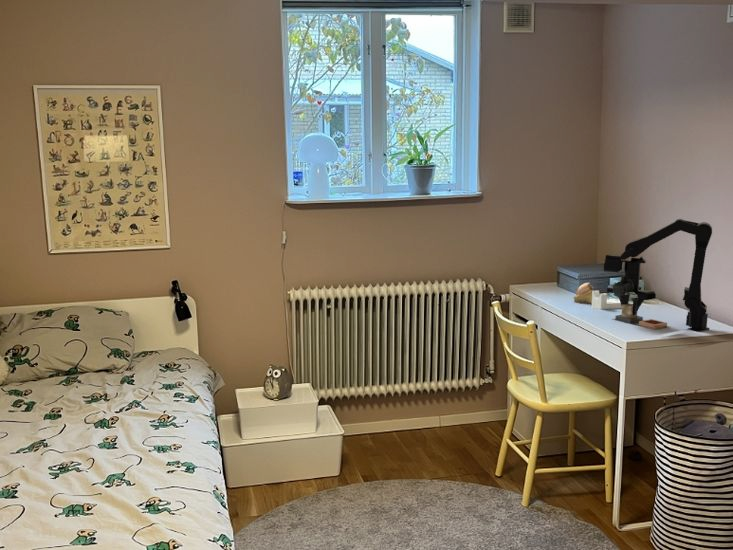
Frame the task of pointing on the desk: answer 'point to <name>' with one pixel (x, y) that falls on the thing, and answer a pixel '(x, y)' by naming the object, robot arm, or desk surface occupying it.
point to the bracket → (604, 301)
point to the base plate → (642, 322)
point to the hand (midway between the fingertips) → (629, 313)
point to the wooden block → (628, 311)
